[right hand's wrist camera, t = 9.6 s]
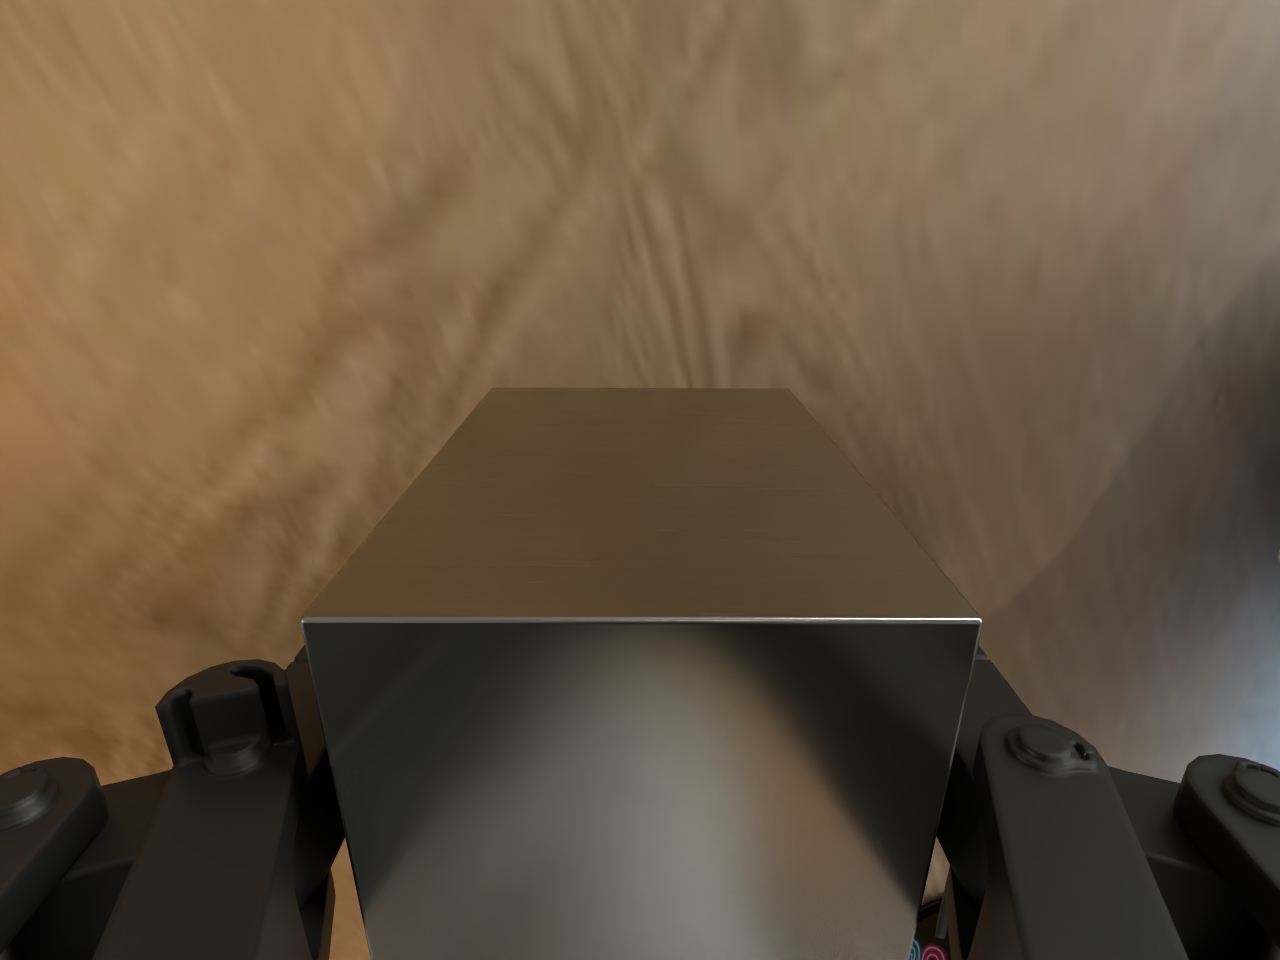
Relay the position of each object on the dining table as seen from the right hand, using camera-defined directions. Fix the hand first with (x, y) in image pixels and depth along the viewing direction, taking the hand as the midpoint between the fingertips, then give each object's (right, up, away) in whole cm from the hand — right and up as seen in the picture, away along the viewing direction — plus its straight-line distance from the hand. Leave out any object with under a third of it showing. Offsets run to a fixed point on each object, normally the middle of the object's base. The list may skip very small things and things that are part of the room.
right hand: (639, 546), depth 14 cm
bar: (0, -9, +4) cm, 10 cm away
